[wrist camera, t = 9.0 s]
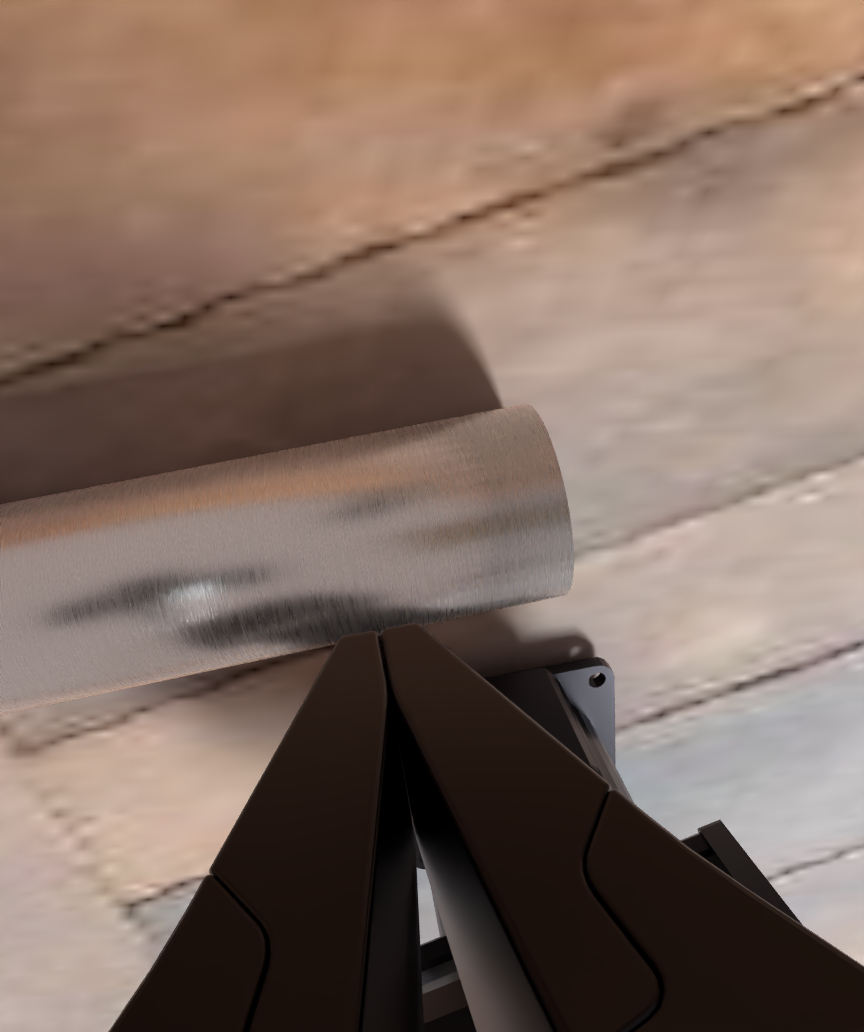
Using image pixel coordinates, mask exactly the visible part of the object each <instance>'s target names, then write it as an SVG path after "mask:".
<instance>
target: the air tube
mask: <svg viewBox="0 0 864 1032" xmlns="http://www.w3.org/2000/svg"><path fill="white" fill-rule="evenodd" d="M573 570H574V552H573V537H572V528H571V520H570V514H569V507H568V502H567V497H566V492H565V487H564V483H563V479H562V475H561V471H560V467H559V464H558V460H557V457H556V454H555V451H554V448H553V445H552V442H551V439H550V437H549V434H548V432H547V430H546V427H545V425H544V423H543V421H542V419H541V418H540V416H539V414H538V413H537V412H536V410H535V409H534V408H533V407H532V406H531V405H529V404H522V405H516V406H511V407H506V408H501V409H495V410H490V411H485V412H480V413H475V414H469V415H464V416H459V417H454V418H448V419H443V420H438V421H433V422H428V423H422V424H417V425H412V426H407V427H402V428H396V429H391V430H386V431H381V432H375V433H370V434H365V435H360V436H355V437H349V438H344V439H339V440H334V441H328V442H323V443H318V444H313V445H308V446H302V447H297V448H292V449H287V450H281V451H276V452H271V453H266V454H261V455H255V456H250V457H245V458H240V459H234V460H229V461H224V462H219V463H214V464H208V465H203V466H198V467H193V468H187V469H182V470H177V471H172V472H167V473H161V474H156V475H151V476H146V477H141V478H135V479H130V480H125V481H120V482H114V483H109V484H104V485H99V486H94V487H88V488H83V489H78V490H73V491H67V492H62V493H57V494H52V495H47V496H41V497H36V498H31V499H26V500H20V501H15V502H10V503H5V504H0V715H5V714H10V713H14V712H19V711H24V710H28V709H33V708H38V707H42V706H47V705H52V704H57V703H61V702H66V701H71V700H75V699H80V698H85V697H89V696H94V695H99V694H103V693H108V692H113V691H118V690H122V689H127V688H132V687H136V686H141V685H146V684H150V683H155V682H160V681H165V680H169V679H174V678H179V677H183V676H188V675H193V674H197V673H202V672H207V671H211V670H216V669H221V668H226V667H230V666H235V665H240V664H244V663H249V662H254V661H258V660H263V659H268V658H272V657H277V656H282V655H287V654H291V653H296V652H301V651H305V650H310V649H315V648H319V647H324V646H329V645H334V644H336V643H337V641H338V640H339V639H340V638H341V637H343V636H346V635H352V634H357V633H363V632H368V631H375V632H377V633H378V634H379V635H380V633H381V631H382V630H383V629H385V628H389V627H394V626H400V625H405V624H410V623H417V624H419V625H421V626H423V625H427V624H432V623H437V622H441V621H446V620H451V619H456V618H460V617H465V616H470V615H474V614H479V613H484V612H488V611H493V610H498V609H503V608H507V607H512V606H517V605H521V604H526V603H531V602H535V601H540V600H545V599H549V598H554V597H559V596H564V595H566V594H567V593H568V592H569V590H570V588H571V585H572V579H573Z"/></svg>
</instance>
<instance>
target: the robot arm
mask: <svg viewBox="0 0 864 1032" xmlns="http://www.w3.org/2000/svg"><path fill="white" fill-rule="evenodd" d="M380 639H381V641H380ZM381 644H382V646H381ZM382 650H383V652H382ZM383 656H384V657H383ZM384 662H385V663H384ZM386 673H387V674H386ZM596 673H600V674H599V675H598V677H596V678H594V679H589V678H590V677H591V676H592V675H593V674H596ZM698 832H699V833H698V834H695V835H693V836H690V837H688V838H685V839H683V840H679V839H678V838H676V837H675V836H674V835H672V834H671V833H670V832H669V831H667V830H666V829H665V828H664V827H662V826H661V825H660V824H658V823H657V822H656V821H655V820H653V819H652V818H651V817H650V816H648V815H647V814H646V813H644V812H643V811H642V810H641V809H640V808H638V807H637V806H636V805H635V804H634V802H633V800H632V798H631V796H630V794H629V793H628V791H627V789H626V787H625V785H624V783H623V781H622V779H621V777H620V775H619V773H618V771H617V769H616V767H615V697H614V674H613V671H612V669H611V668H610V666H609V664H608V663H607V662H606V661H605V660H604V659H602V658H599V657H595V658H587V659H582V660H577V661H572V662H567V663H562V664H556V665H551V666H546V667H541V668H536V669H531V670H526V671H521V672H515V673H510V674H505V675H500V676H495V677H490V678H485V679H484V678H483V677H482V676H480V675H479V674H478V673H477V672H476V671H474V670H473V669H472V668H471V667H470V666H468V665H467V664H466V663H465V662H464V661H462V660H461V659H460V658H459V657H458V656H457V655H455V654H454V653H453V652H452V651H451V650H449V649H448V648H447V647H446V646H445V645H443V644H442V643H441V642H440V641H439V640H437V639H436V638H435V637H434V636H433V635H431V634H430V633H429V632H428V631H427V630H425V629H424V628H423V627H422V626H421V625H419V624H417V623H410V624H405V625H400V626H394V627H389V628H385V629H383V630H382V631H381V633H380V636H379V634H378V633H377V632H375V631H368V632H363V633H357V634H352V635H346V636H343V637H341V638H340V639H339V640H338V641H337V643H336V645H335V647H334V649H333V650H332V652H331V654H330V656H329V657H328V659H327V661H326V663H325V665H324V666H323V668H322V670H321V672H320V673H319V675H318V677H317V679H316V681H315V682H314V684H313V686H312V688H311V690H310V691H309V693H308V695H307V697H306V698H305V700H304V702H303V704H302V706H301V707H300V709H299V711H298V713H297V714H296V716H295V718H294V720H293V722H292V723H291V725H290V727H289V729H288V730H287V732H286V734H285V736H284V738H283V739H282V741H281V743H280V745H279V746H278V748H277V750H276V752H275V754H274V755H273V757H272V759H271V761H270V763H269V764H268V766H267V768H266V770H265V771H264V773H263V775H262V777H261V779H260V780H259V782H258V784H257V786H256V787H255V789H254V791H253V793H252V795H251V796H250V798H249V800H248V802H247V803H246V805H245V807H244V809H243V811H242V812H241V814H240V816H239V818H238V820H237V821H236V823H235V825H234V827H233V828H232V830H231V832H230V834H229V836H228V837H227V839H226V841H225V843H224V844H223V846H222V848H221V850H220V852H219V853H218V855H217V857H216V859H215V860H214V862H213V864H212V866H211V868H210V870H209V873H210V875H207V876H206V877H205V878H204V879H203V881H202V883H201V884H200V886H199V888H198V890H197V892H196V893H195V895H194V897H193V899H192V901H191V902H190V904H189V906H188V908H187V910H186V911H185V913H184V915H183V916H182V918H181V920H180V921H179V923H178V925H177V926H176V928H175V930H174V931H173V933H172V935H171V936H170V938H169V940H168V941H167V943H166V945H165V946H164V948H163V950H162V951H161V953H160V955H159V956H158V958H157V960H156V961H155V963H154V965H153V966H152V968H151V969H150V971H149V972H148V974H147V975H146V977H145V978H144V980H143V981H142V983H141V984H140V986H139V987H138V989H137V990H136V992H135V993H134V995H133V996H132V998H131V999H130V1001H129V1002H128V1004H127V1005H126V1007H125V1008H124V1010H123V1011H122V1013H121V1014H120V1016H119V1017H118V1019H117V1020H116V1022H115V1023H114V1024H113V1026H112V1027H111V1029H110V1030H109V1032H864V966H863V965H861V964H860V963H858V962H857V961H855V960H854V959H852V958H851V957H849V956H848V955H846V954H845V953H843V952H842V951H840V950H839V949H837V948H836V947H834V946H833V945H831V944H830V943H828V942H827V941H825V940H824V939H822V938H821V937H819V936H818V935H816V934H815V933H813V932H812V931H810V930H809V929H807V928H806V927H804V926H803V925H802V924H801V922H800V921H799V920H798V919H797V917H796V916H795V915H794V914H793V912H792V911H791V910H790V908H789V907H788V906H787V905H786V903H785V902H784V901H783V899H782V898H781V897H780V896H779V894H778V893H777V892H776V891H775V889H774V888H773V887H772V885H771V884H770V883H769V882H768V880H767V879H766V878H765V876H764V875H763V874H762V873H761V871H760V870H759V869H758V867H757V866H756V865H755V864H754V862H753V861H752V860H751V859H750V857H749V856H748V855H747V853H746V852H745V851H744V850H743V848H742V847H741V846H740V844H739V843H738V842H737V841H736V839H735V838H734V837H733V836H732V834H731V833H730V832H729V830H728V829H727V828H726V827H725V825H724V824H723V823H722V821H721V820H718V821H715V822H713V823H711V824H708V825H706V826H703V827H701V828H698ZM416 867H417V868H420V869H426V872H427V876H428V879H429V882H430V885H431V890H432V895H433V901H434V906H435V911H436V917H437V922H438V927H439V933H440V937H439V938H436V939H434V940H431V941H429V942H426V943H424V944H421V945H420V931H419V910H418V889H417V868H416Z"/></svg>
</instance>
